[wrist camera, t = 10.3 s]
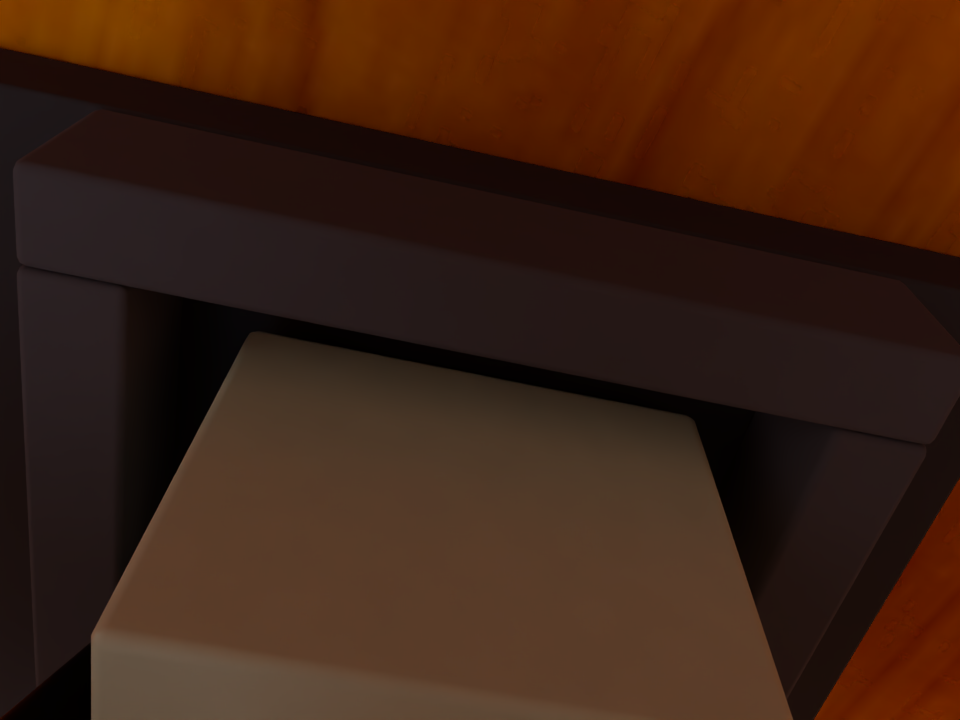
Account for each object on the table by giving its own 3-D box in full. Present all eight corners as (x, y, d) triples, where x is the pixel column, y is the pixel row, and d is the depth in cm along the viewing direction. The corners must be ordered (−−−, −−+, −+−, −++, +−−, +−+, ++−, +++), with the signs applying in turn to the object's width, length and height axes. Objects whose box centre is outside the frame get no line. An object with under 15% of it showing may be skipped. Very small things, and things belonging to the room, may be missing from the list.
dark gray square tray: (705, 812, 13) (743, 1001, 11) (12, 703, 12) (-91, 884, 10) (1008, 266, 9) (1171, 402, 7) (-31, 39, 8) (-229, 111, 6)
